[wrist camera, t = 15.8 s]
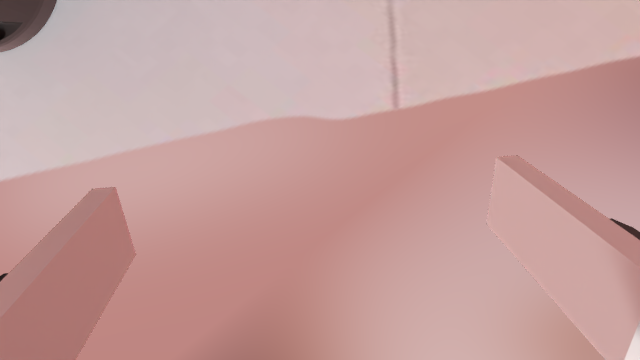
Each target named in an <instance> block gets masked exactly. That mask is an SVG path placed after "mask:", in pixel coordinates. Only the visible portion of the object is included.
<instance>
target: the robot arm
mask: <svg viewBox="0 0 640 360" xmlns="http://www.w3.org/2000/svg"><path fill="white" fill-rule="evenodd" d="M55 3H56V0H0V52H3V51H7V50H10V49H13V48H16V47H18V46H20V45H22V44H24V43H25V42H27V41H28V40H30V39H31V38H32V37H34V36H35V35H36V34H37V33H38V32H39V31H40V30H41V29H42V27H43V26H44V25H45V23H46V22H47V21H48V19H49V17H50V15H51V13H52V11H53V9H54V6H55ZM486 224H487V225H488V227H489V228H490V229H491V230H492V231H493V232H494V233H495V235H496V236H497V237H498V238H499V239H500V240H501V241H502V242H503V244H504V245H505V246H506V247H507V248H508V249H509V251H510V252H511V253H512V254H513V255H514V256H515V257H516V258H517V260H518V261H519V262H520V263H521V264H522V265H523V266H524V268H525V269H526V270H527V271H528V272H529V273H530V275H531V276H532V277H533V278H534V279H535V280H536V281H537V282H538V283H539V285H540V286H541V287H542V288H543V289H544V290H545V292H546V293H547V294H548V295H549V296H550V297H551V298H552V300H553V301H554V302H555V303H556V304H557V305H558V306H559V308H560V309H561V310H562V311H563V312H564V313H565V314H566V316H567V317H568V318H569V319H570V320H571V321H572V322H573V323H574V325H575V326H576V327H577V328H578V329H579V330H580V332H581V333H582V334H583V335H584V336H585V337H586V338H587V340H588V341H589V342H590V343H591V344H592V345H593V346H594V348H596V350H597V351H598V352H599V353H600V354H601V355H602V357H604V359H605V360H640V232H639V231H637V230H636V229H634V228H633V227H630V226H628V225H625V224H623V223H621V222H618V221H616V220H614V219H609V218H607V217H606V216H604V215H603V214H601V213H599V212H598V211H597V210H595V209H594V208H593V207H591V206H590V205H588V204H587V203H585V202H584V201H583V200H581V199H580V198H578V197H577V196H575V195H574V194H572V193H571V192H570V191H568V190H566V189H565V188H564V187H562V186H561V185H559V184H558V183H556V182H555V181H554V180H552V179H551V178H549V177H548V176H546V175H545V174H543V173H542V172H541V171H539V170H538V169H536V168H535V167H533V166H532V165H531V164H529V163H528V162H526V161H524V160H523V159H522V158H520V157H519V156H517V155H516V156H503V157H496V163H495V169H494V175H493V182H492V189H491V195H490V202H489V208H488V216H487V222H486ZM135 256H136V253H135V249H134V246H133V243H132V239H131V236H130V233H129V230H128V226H127V223H126V220H125V216H124V213H123V210H122V207H121V204H120V200H119V197H118V194H117V190H116V188H115V187H110V188H97V189H92V190H91V191H90V192H89V193H88V194H87V195H86V196H85V197H84V198H83V199H82V200H81V201H80V202H79V203H78V204H77V205H76V206H75V207H74V208H73V209H72V210H71V211H70V212H69V213H68V214H67V215H66V216H65V217H64V218H63V219H62V220H61V221H60V222H59V223H58V224H57V225H56V226H55V227H54V228H53V229H52V230H51V231H50V232H49V233H48V234H47V235H46V236H45V237H44V238H43V239H42V240H41V241H40V242H39V243H38V244H37V245H36V246H35V247H34V248H33V249H32V250H31V251H30V252H29V253H28V254H27V255H26V256H25V257H24V258H23V259H22V260H21V261H20V262H19V263H18V264H17V265H16V266H15V268H13V270H11V271H10V272H9V273H6V274H3V275H1V276H0V360H76V359H77V357H78V355H79V353H80V352H81V350H82V348H83V347H84V345H85V343H86V341H87V340H88V338H89V336H90V334H91V333H92V331H93V329H94V327H95V326H96V324H97V322H98V320H99V319H100V317H101V315H102V313H103V311H104V310H105V308H106V306H107V305H108V303H109V301H110V299H111V297H112V296H113V294H114V292H115V291H116V289H117V287H118V285H119V283H120V282H121V280H122V278H123V277H124V275H125V273H126V271H127V270H128V268H129V266H130V264H131V262H132V261H133V259H134V257H135Z"/></svg>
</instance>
